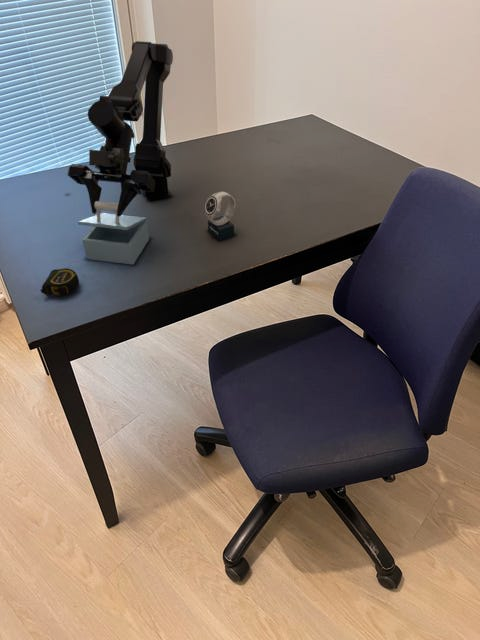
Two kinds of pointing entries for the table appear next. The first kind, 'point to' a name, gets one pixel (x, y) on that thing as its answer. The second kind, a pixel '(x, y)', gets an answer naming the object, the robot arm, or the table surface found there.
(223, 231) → the watch
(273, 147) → the table surface
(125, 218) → the compartment lid
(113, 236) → the compartment
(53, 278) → the tape measure
